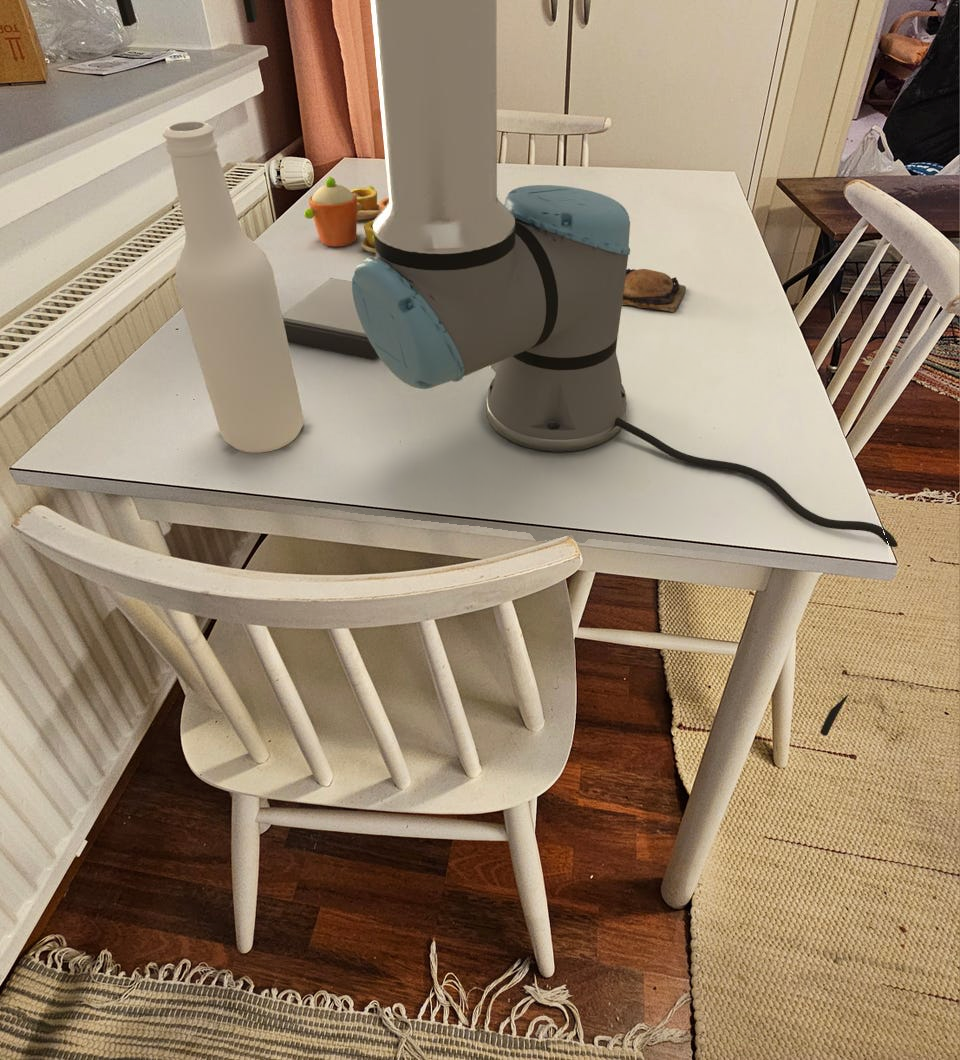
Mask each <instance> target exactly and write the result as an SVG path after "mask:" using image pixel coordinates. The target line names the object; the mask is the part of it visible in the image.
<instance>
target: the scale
mask: <svg viewBox="0 0 960 1060" xmlns="http://www.w3.org/2000/svg"><path fill="white" fill-rule="evenodd" d="M282 317H283V321H284V326H285V331H286V336H287V341H288V344H294V345H299V346H304V347H307V348H312V349H313V348H314V349H318V350H323V351H327V352H328V351H329V352H333V353H338V354H343V355H348V356H353V357H358V358H362V359H368V360H373V361H376V360H377V359H378V358H380V357H379V356H378V354H377V353H376V351H375V349H374V348H373V347H372V345H371V343H370V341H369V339H368V337H367V335H366V333H365V331H364V329H363V327H362V325H361V322H360V319H359V317H358V314H357V311H356V307H355V303H354V299H353V293H352V280H346V279H342V278H341V279H339V278H334V277H329V279H327V280H326V281H324V282H323V283H322V284H321V285H320V286H318V287H317V288H316V289H314V290H313V291H312V292H310V293H309V294H308V295H307V296H305V297H304V298H303V299H301V300H300V301H299V302H297V304H295V305H294V306H293V307H291V308H290V309H288V310H286V312H284V313H283V314H282Z"/></svg>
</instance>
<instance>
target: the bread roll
mask: <svg viewBox="0 0 960 1060" xmlns="http://www.w3.org/2000/svg"><path fill="white" fill-rule="evenodd" d="M686 291H687V288H686V285H684V284H680V283H679V281H678V279H677V276H675V277H672V278H671V276H670V275H668V274H666V273H665V272H662V271H656V270H653V269H646V268H639V269H634V268H632V269H630V268H627V270H626V277H625V285H624V292H623V300H622V306H628V305H629V306H633V307H635V308H639V309H651V310H658V311H659V310H661V311H665V312H666V311H668V312H676V311H677V310H678V306H679V305H680V303H681V302H682V301H681V300H682V299H683V298H684V294H685V292H686Z"/></svg>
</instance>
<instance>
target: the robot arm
mask: <svg viewBox="0 0 960 1060" xmlns="http://www.w3.org/2000/svg"><path fill="white" fill-rule="evenodd" d="M115 1H116V4H117V8H118V12H119V16H120V18H121V23H122V25H123V27H131V26H133V25H135V24H136V23H137V22H138V21H137V16H136V13H135V9H134V6H133V1H132V0H115ZM255 1H256V0H242V2H243V7H244V12H245V16H246V23H256V21H257V20H258V13H257V6H256V2H255ZM369 1H370V11H371V21H372V33H373V43H374V44H373V45H374V53H375V64H376V75H377V84H378V85H377V86H378V96H379V97H378V98H379V106H380V117H381V128H382V139H383V150H384V159H385V161H384V162H385V171H386V181H387V192H388V193H387V194H388V198H389V202H388V204H387V205H386V207H385V208H384V209H383V210H382V211H381V212H380V214H379V215H378V216H376V217H374V218H375V219H373V220H374V222H373V232H374V241H375V252H376V253H375V257H373V256H372V257H367V258H366V259H365V258H364V259H363V261H361V262H360V263H359V264H358V265H357V266H356V267H355V269H354V272H353V274H352V278H351V281H352V293H353V299H354V303H355V307H356V311H357V314H358V317H359V319H360V322H361V325H362V327H363V329H364V331H365V333H366V335H367V337H368V339H369V341H370V343H371V345H372V347H373V348H374V349H375V351H376V353H377V354H378V356H379V357H378V358H379V359H380V360H381V361H382V363H383V364H384V365H385V366H386V368H387V369H388V370H389V371H390V372H391V373H392V374H393V375H394V376H395V377H396V378H397V379H399V380H400V381H401V382H403V383H404V384H406V385H408V386H409V387H411V388H415V389H422V390H427V389H433V388H435V387H437V386H441V385H444V384H446V383H450V382H458V381H461V380H463V378H464V377H466V376H468V375H471V374H473V373H475V372H479V370H483V369H485V368H487V367H489V366H490V369H491V370H493V372H495V376H494V377H493V379H492V380H491V382H490V384H489V387H488V389H487V394H486V416H487V419H488V422H489V424H490V425H491V426H492V428H493V429H494V430H495V431H496V432H497V433H498V434H499V435H501V436H502V437H504V438H505V439H507V440H509V441H510V442H512V443H514V444H516V445H519V446H522V447H526V448H528V449H534V450H538V451H545V452H558V453H559V452H574V451H581V450H585V449H586V450H587V449H589V448H593V447H597V446H598V445H601V444H603V443H605V442H607V441H609V440H610V439H612V438H613V437H614V436H615V435H617V434H618V432H619V431H620V430H624V431H626V432H628V433H630V434H631V435H634V436H635V437H637V438H639V439H641V440H642V441H645V442H647V443H648V444H650V445H651V446H653V447H655V448H656V449H658V450H659V451H661V452H662V453H664V454H666V455H668V456H669V457H671V458H673V459H676V460H678V461H681V462H684V463H687V464H690V465H693V466H699V467H704V468H709V469H715V470H716V469H717V470H724V471H729V472H734V473H740V474H742V475H745V476H748V477H750V478H752V479H755V480H757V481H758V482H760V483H762V484H764V485H765V486H766V487H768V488H769V489H770V490H771V491H772V492H774V494H775V495H777V496H778V498H779V499H780V500H781V501H782V502H783V503H784V504H785V505H786V506H787V507H788V508H789V509H790V510H792V511H793V512H794V513H796V514H797V515H798V516H800V517H801V518H803V519H805V520H806V521H808V522H810V523H812V524H814V525H817V526H819V527H823V528H827V529H833V530H843V531H844V530H846V531H861V532H867V533H871V534H874V535H876V536H877V537H879V538H880V540H882V541H883V542H884V543H885V544H886V545H887V546H889V547H891V548H897V547H899V544H898V542H897V541H896V538H895V537H894V536H893V535H892V534H891V533H890V531H888V530H887V529H886V528H884V527H882V526H880V525H877V524H875V523H872V522H867V521H861V520H860V521H859V520H858V521H857V520H842V519H841V520H838V519H830V518H827V517H823V516H820V515H818V514H816V513H814V512H812V511H810V510H809V509H807V508H806V507H805V506H803V505H801V503H799V502H798V501H797V500H796V499H795V498H794V497H792V495H791V494H789V492H787V490H785V488H784V487H783V486H782V485H780V483H778V482H777V481H776V480H774V479H773V478H771V477H770V476H769V475H767V474H765V473H764V472H761V471H759V470H757V469H755V468H752V467H750V466H746V465H744V464H740V463H736V462H730V461H723V460H716V459H711V458H710V459H709V458H703V457H699V456H695V455H691V454H688V453H685V452H682V451H680V450H678V449H675V448H673V447H672V446H670V445H668V444H667V443H665V442H664V441H662V440H660V439H659V438H657V437H655V436H653V435H652V434H650V433H648V432H647V431H645V430H643V429H641V428H640V427H638V426H635V425H633V424H632V423H629V422H628V421H626V420H625V419H626V413H627V405H628V404H627V394H626V390H625V388H624V385H623V381H622V373H621V368H620V364H619V360H618V356H617V346H618V337H619V331H620V322H621V313H622V307H623V305H622V300H623V292H624V285H625V277H626V270H627V269H628V262H629V255H630V254H631V248H630V247H629V246H630V231H631V221H630V215H629V213H628V211H627V209H626V208H625V207H624V206H623V204H621V203H620V202H619V201H617V200H615V199H614V198H612V197H609V196H608V195H605V194H602V193H599V192H596V191H592V190H588V189H584V188H580V187H579V188H578V187H572V186H565V185H552V184H534V185H533V184H532V185H525V186H519V187H516V188H514V189H512V190H511V191H509V192H508V194H507V195H506V197H505V200H504V203H503V202H501V201H500V200H499V198H498V158H497V157H498V146H497V145H498V103H497V102H498V100H497V99H498V0H369ZM882 528H883V529H882ZM883 530H884V532H885V535H884V533H883ZM886 538H887V539H886ZM887 541H888V543H889V545H888V543H887ZM849 695H850V693H847V694H846V695H845V696H844V697H843V698H842V699H841V700H840V701H838V703H836V704H835V705H834V706H833V707H832V708H831V709H830V710H829V712H828V714H827V716H826V718H825V720H824V722H823V724H822V726H821V728H820V731H819V733H820V734H821V736H825V737H827V736H828V735H829V733H830V731H831V729H832V727H833V725H834V722H835V721H836V719H837V717H838V715H839V713H840V711H841V710H842V707H843V706H844V704H845V702H846V700H847V699H848V697H849Z"/></svg>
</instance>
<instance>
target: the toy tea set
mask: <svg viewBox="0 0 960 1060" xmlns="http://www.w3.org/2000/svg"><path fill="white" fill-rule="evenodd" d="M388 202H389V197H386V198H382V199H381V200H380V201H379V202H378V191H377V190H376V188H375V187H374V186H372V185H369V186H367V187H356V188H352V189H349V188H347V187H346V186H344V185H341V184H339V183H336V180H335V178H334V177H331V176H328V177H327V178H326V179H325V184H324V185H321V186H319V188H317V190H316V191H315V192H314V193H313V194H312V195H310V197H309V199H308V206H309V208H306V209H304V212H303V215H304V217H305V219H309V220H311V219H313V222H314V226H315V228H316V231H317V235H318V238H319V241H320V243H322V244H323V245H325V246H328V247H333V248H334V247H336V248H337V247H338V248H339V247H344V246H349V245H350V244H351V245H352V244H353V243H354V242H355V241H356V240H357V227H358V226H357V224H358V223H357V221H359V220H360V221H364V220H369V221H367V222H365V223H364V225H363V228H364V233H365V236H366V237H365V238H363V239H362V240H361V247H362V248H363V249H364V250H365V251H367V252H369V253H375V254H376V252H375V241H374V232H373V222H374V220H375V219H373V218H376V217H377V216H378V215H379V214H380V212H381V211H382V210H383V209H384V208H385V207H386V205H387V204H388ZM370 219H372V220H370Z"/></svg>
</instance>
